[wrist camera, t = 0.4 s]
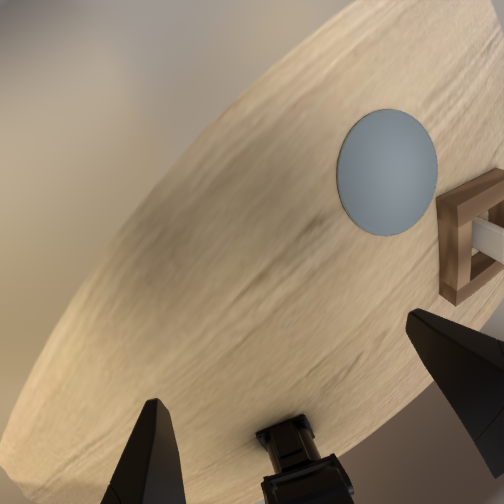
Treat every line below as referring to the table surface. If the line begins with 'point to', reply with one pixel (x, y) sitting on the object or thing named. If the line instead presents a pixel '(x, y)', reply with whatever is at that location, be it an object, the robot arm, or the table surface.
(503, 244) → the eye dropper bottle
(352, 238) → the table surface
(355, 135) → the slate-blue rubber mat
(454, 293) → the walnut socket block
